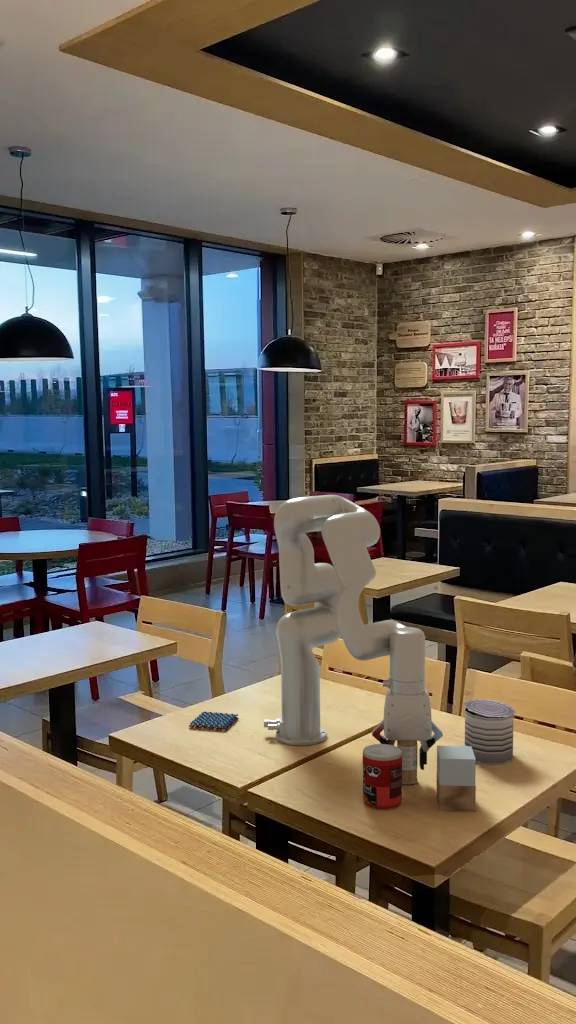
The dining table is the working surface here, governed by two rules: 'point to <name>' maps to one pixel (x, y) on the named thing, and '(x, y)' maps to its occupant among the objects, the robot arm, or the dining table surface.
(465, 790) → the tower base slab
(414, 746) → the sprinkles bottle
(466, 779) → the pale grey-blue cube
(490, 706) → the can
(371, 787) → the canned food
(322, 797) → the dining table surface
